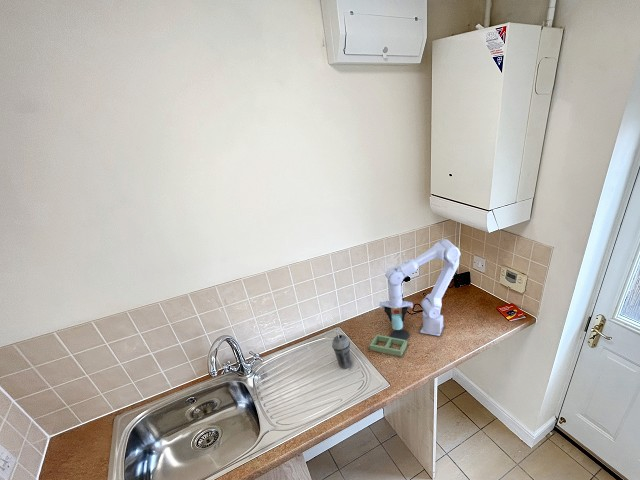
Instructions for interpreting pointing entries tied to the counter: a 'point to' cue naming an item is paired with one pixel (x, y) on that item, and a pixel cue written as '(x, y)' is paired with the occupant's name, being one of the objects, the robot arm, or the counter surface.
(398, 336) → the coaster
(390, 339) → the bottle rack
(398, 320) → the bottle
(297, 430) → the counter surface
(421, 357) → the counter surface
